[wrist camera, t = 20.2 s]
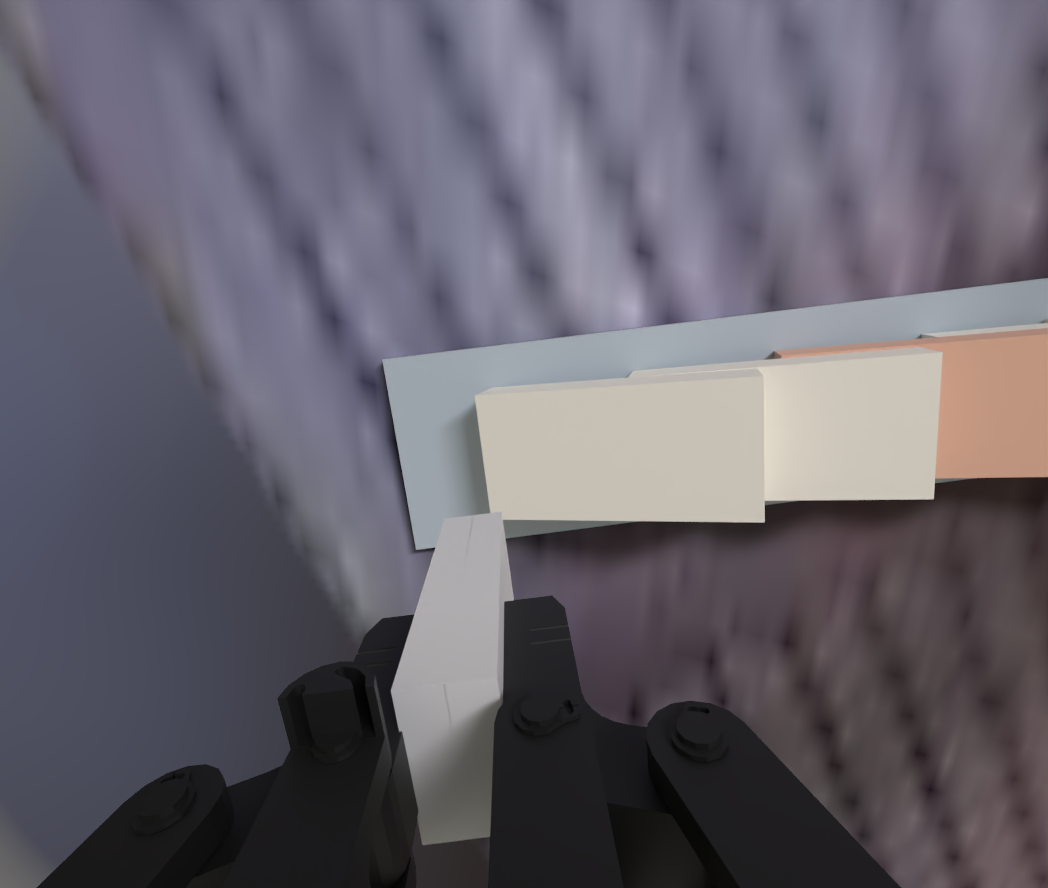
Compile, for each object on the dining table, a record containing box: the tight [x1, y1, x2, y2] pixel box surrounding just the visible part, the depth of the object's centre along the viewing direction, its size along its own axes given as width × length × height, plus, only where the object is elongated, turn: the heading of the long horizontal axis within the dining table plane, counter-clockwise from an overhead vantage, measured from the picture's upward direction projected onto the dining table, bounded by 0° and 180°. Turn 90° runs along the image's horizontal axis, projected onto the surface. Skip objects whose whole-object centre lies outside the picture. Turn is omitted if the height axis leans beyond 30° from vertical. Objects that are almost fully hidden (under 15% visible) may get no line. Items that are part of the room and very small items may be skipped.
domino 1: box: [628, 347, 943, 501], centre depth 24 cm, size 2×6×12 cm
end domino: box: [475, 368, 765, 523], centre depth 24 cm, size 2×6×12 cm
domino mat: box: [382, 278, 1048, 550], centre depth 28 cm, size 35×10×1 cm, turn 97°
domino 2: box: [774, 328, 1048, 479], centre depth 24 cm, size 2×6×12 cm
